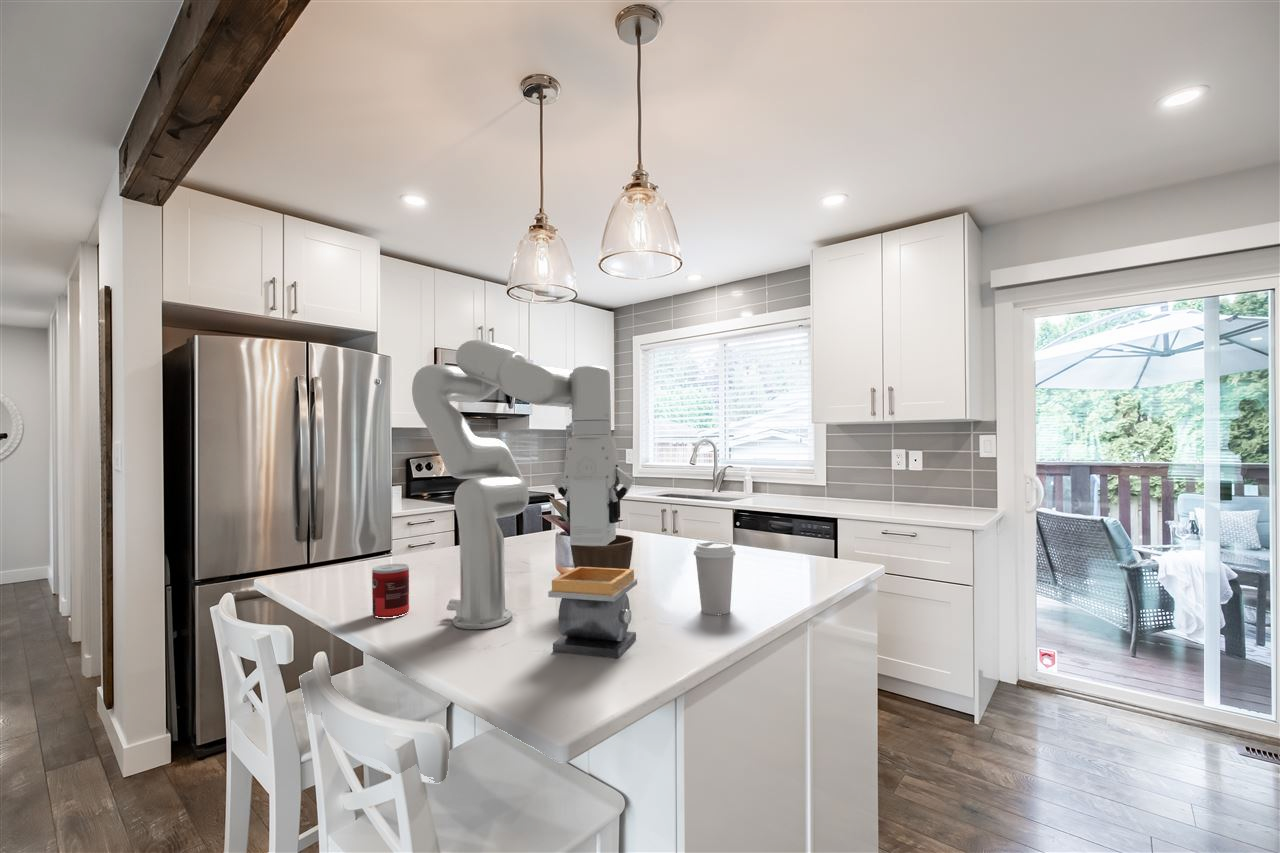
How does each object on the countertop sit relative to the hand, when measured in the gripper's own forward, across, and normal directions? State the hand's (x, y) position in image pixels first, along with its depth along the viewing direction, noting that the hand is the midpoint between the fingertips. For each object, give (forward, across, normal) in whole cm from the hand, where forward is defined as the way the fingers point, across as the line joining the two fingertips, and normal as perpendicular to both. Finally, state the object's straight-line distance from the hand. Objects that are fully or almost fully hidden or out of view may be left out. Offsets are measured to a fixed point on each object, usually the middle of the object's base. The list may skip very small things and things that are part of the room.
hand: (593, 521), depth 111 cm
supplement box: (+4, 0, 0) cm, 4 cm away
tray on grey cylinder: (+24, 0, 0) cm, 24 cm away
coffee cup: (+24, +18, +28) cm, 41 cm away
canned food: (+24, -54, +7) cm, 60 cm away
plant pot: (+24, -8, +24) cm, 35 cm away
